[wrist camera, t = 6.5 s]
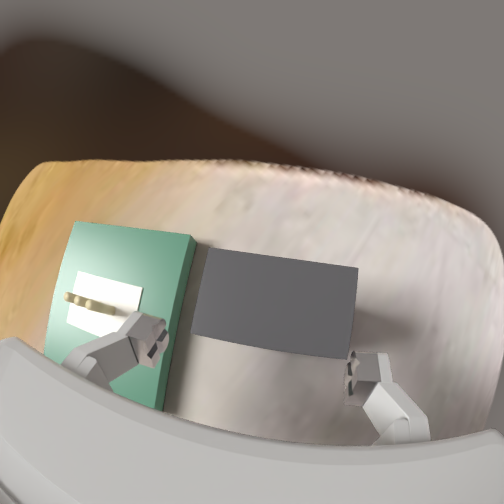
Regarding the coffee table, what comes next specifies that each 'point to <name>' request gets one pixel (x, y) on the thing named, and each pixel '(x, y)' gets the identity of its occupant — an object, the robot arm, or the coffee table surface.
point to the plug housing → (276, 303)
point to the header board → (120, 295)
